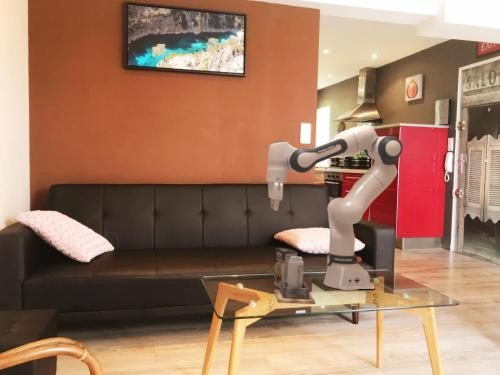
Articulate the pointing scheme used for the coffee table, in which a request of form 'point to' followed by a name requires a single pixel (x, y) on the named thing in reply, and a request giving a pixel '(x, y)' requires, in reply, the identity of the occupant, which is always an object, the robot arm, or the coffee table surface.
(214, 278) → the coffee table surface
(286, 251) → the coffee box
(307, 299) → the can stand
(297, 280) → the energy drink can
